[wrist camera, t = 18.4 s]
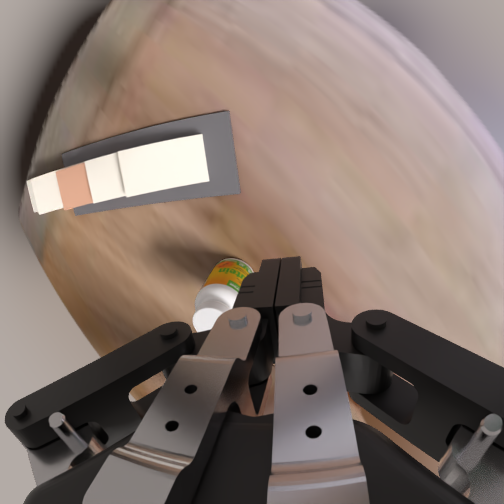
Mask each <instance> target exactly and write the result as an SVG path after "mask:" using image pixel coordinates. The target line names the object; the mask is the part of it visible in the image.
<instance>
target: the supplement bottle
mask: <svg viewBox="0 0 504 504" xmlns="http://www.w3.org/2000/svg"><path fill="white" fill-rule="evenodd" d="M250 273H254V272H253V270H252V268H251V267H250V266H249V265H248V264H247V263H245V262H244V261H242V260H239V259H235V258H228V259H224V260H222V261H220V262H219V263H217V264H216V266H215V267H214V269H213V270H212V272H211V273H210V275H209V277H208V278H207V280H206V281H205V283H204V285H203V286H202V288H201V289H200V291H199V293H198V294H197V296H196V299H195V309H196V311H195V313H194V316H193V325H194V327H195V329H196V331H197V332H201V331H206V330H210V329H212V327H213V325H214V323H215V322H216V320H217V318H218V317H219V316H220V315H221V314H222V313H224V312H226V311H228V310H230V309H232V308H233V305H234V302H235V300H236V297H237V294H238V292H239V289H240V286H241V283H242V281H243V279H244V278H245V277H246V276H247V275H249V274H250Z"/></svg>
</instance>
